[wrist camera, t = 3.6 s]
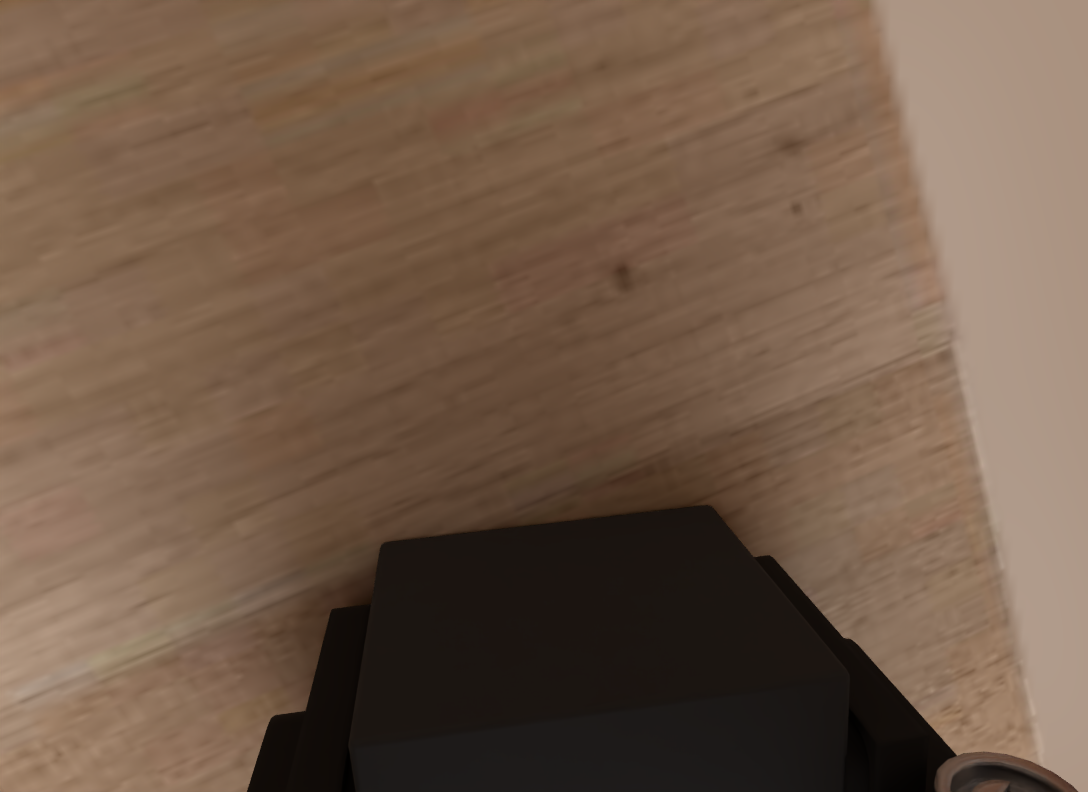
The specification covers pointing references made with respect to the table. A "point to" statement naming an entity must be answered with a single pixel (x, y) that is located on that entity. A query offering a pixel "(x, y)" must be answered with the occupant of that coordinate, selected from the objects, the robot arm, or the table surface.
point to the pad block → (593, 665)
